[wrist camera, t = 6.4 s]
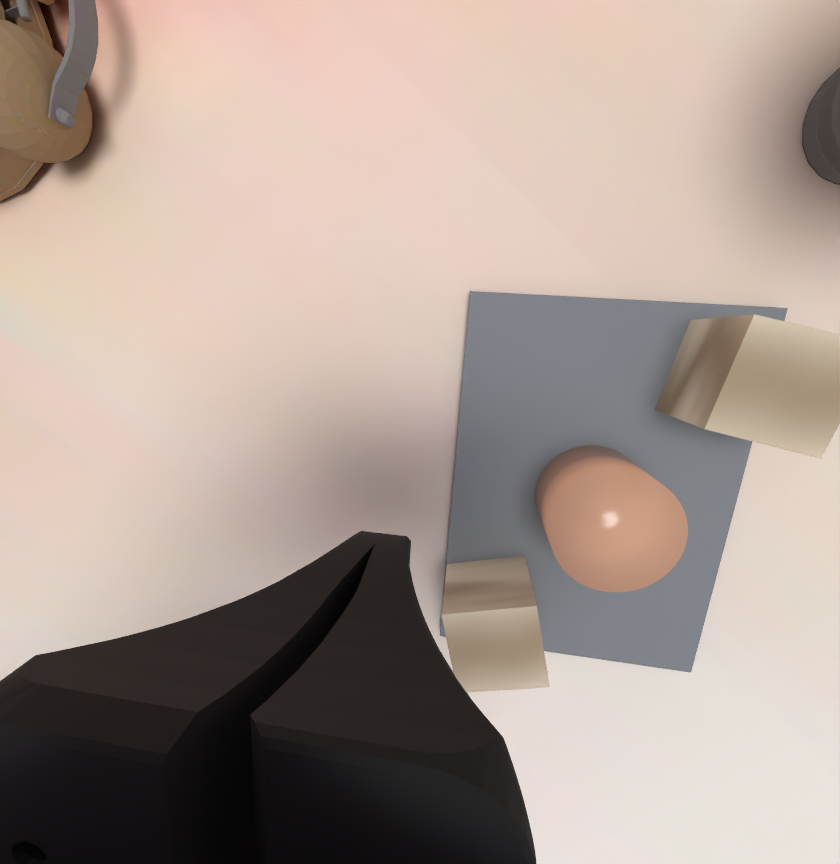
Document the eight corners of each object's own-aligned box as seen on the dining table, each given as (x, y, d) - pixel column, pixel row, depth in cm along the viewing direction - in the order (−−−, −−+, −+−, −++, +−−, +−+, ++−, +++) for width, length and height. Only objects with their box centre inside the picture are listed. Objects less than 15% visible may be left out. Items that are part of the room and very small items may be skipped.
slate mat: (685, 663, 21) (690, 672, 21) (440, 628, 23) (439, 635, 22) (776, 309, 17) (787, 308, 16) (470, 292, 18) (470, 291, 18)
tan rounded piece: (633, 549, 20) (672, 600, 16) (528, 536, 20) (541, 583, 16) (653, 450, 18) (701, 480, 15) (542, 440, 19) (560, 465, 15)
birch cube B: (745, 432, 18) (820, 458, 14) (654, 409, 18) (704, 428, 14) (786, 343, 17) (880, 344, 13) (690, 319, 17) (754, 314, 13)
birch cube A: (535, 623, 21) (549, 687, 17) (460, 629, 22) (457, 692, 18) (524, 555, 20) (536, 606, 17) (447, 563, 21) (441, 614, 17)
